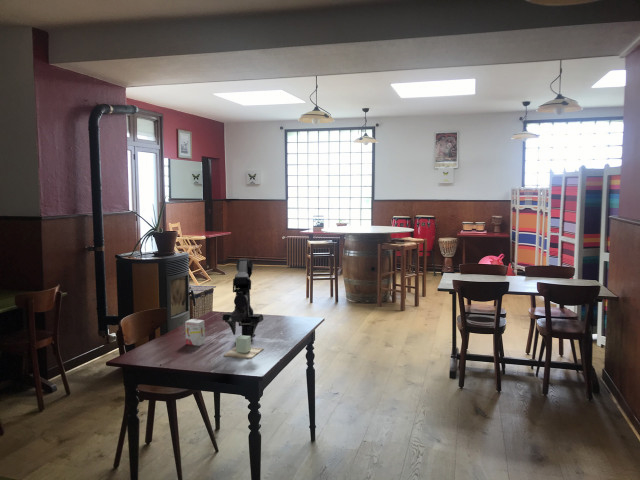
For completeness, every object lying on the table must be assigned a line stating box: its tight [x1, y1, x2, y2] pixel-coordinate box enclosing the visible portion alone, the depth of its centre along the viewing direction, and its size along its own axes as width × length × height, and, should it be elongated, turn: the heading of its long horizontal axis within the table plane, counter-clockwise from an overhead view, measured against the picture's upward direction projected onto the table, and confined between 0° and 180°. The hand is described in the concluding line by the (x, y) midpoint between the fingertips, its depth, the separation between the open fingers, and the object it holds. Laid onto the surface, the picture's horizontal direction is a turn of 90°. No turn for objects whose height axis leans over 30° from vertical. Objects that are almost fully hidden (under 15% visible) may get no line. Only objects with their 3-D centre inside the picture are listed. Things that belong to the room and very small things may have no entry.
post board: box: [223, 346, 264, 360], centre depth 243 cm, size 14×14×1 cm
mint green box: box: [235, 334, 252, 353], centre depth 243 cm, size 5×5×7 cm
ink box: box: [184, 318, 206, 347], centre depth 258 cm, size 9×5×12 cm, turn 68°
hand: (243, 335), depth 242 cm, fingers open, 9 cm apart
